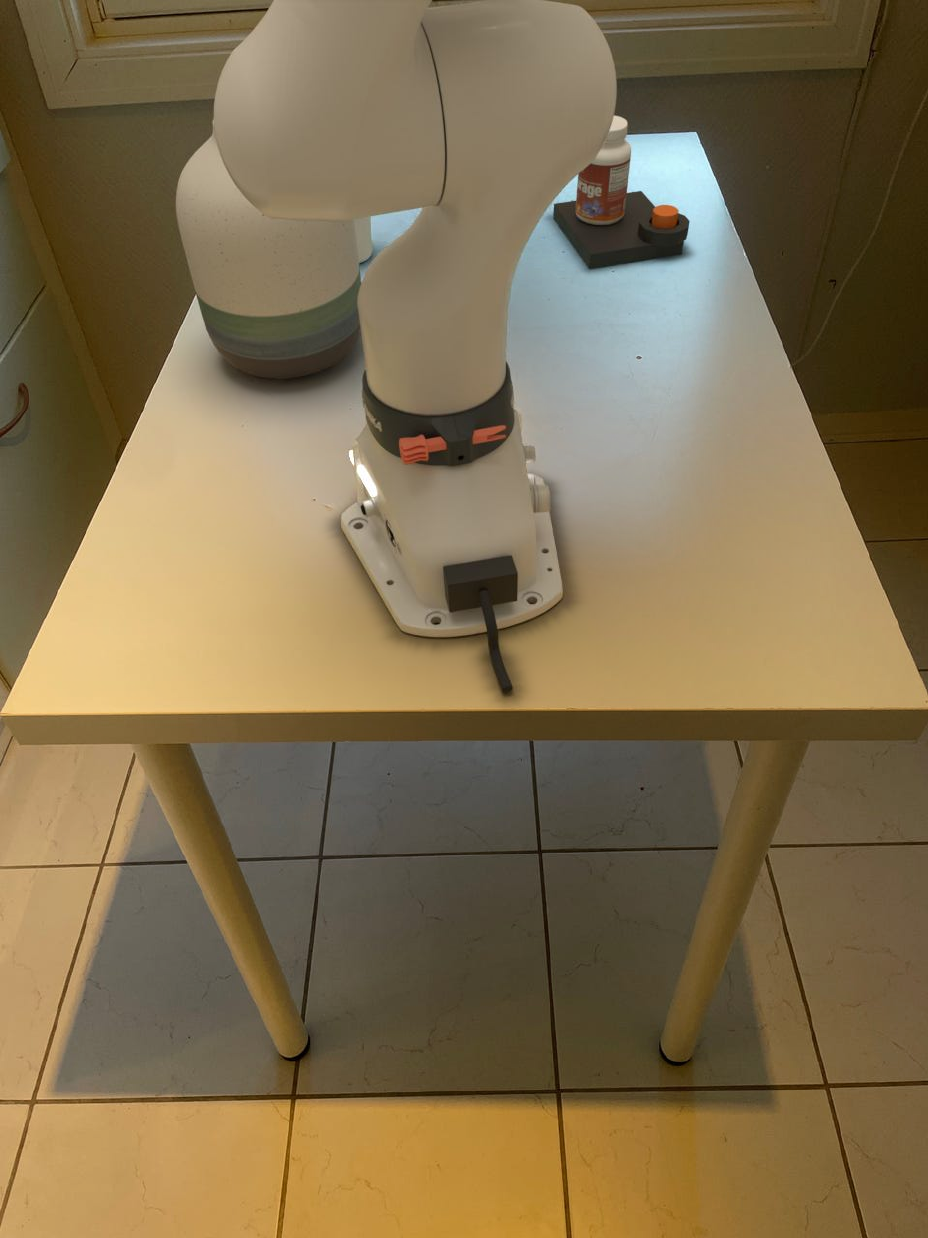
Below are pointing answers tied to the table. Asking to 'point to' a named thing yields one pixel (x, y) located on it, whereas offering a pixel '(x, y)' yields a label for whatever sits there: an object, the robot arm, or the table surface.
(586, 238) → the scale
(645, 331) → the table surface
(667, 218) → the button
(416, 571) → the robot arm
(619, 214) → the pill bottle
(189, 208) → the vase
